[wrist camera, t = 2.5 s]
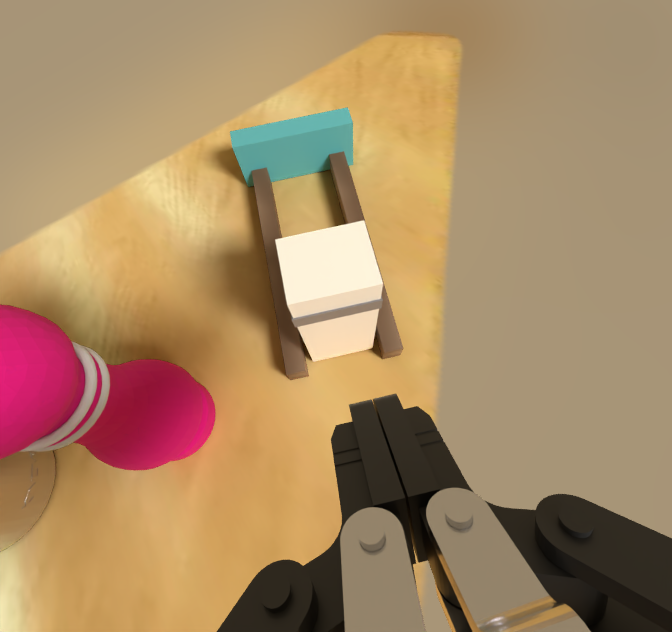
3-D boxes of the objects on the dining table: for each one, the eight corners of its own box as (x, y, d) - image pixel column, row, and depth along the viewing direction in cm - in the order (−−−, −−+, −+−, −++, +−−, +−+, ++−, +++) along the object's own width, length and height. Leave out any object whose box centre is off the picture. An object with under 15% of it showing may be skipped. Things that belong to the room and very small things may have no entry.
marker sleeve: (312, 363, 29) (285, 307, 18) (303, 316, 31) (273, 238, 20) (374, 349, 29) (385, 285, 18) (361, 303, 31) (365, 218, 20)
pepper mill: (151, 487, 27) (-316, 566, 8) (119, 404, 29) (-298, 317, 10) (237, 433, 28) (-1, 393, 9) (200, 357, 30) (-50, 203, 12)
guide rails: (290, 380, 29) (286, 374, 27) (254, 173, 37) (249, 159, 35) (400, 354, 29) (403, 348, 28) (341, 155, 37) (340, 140, 36)
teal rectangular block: (248, 186, 36) (232, 147, 32) (245, 171, 37) (230, 131, 33) (353, 164, 37) (352, 122, 32) (348, 150, 38) (347, 107, 33)
